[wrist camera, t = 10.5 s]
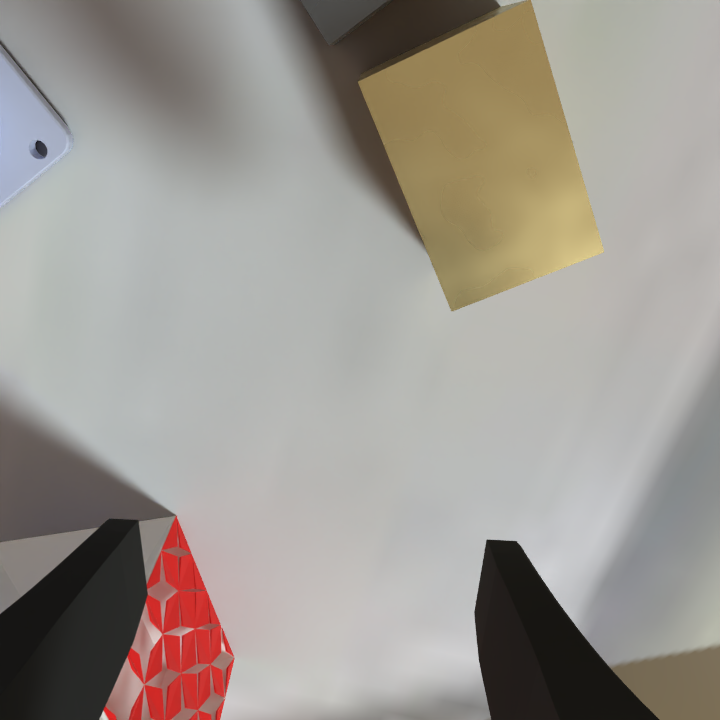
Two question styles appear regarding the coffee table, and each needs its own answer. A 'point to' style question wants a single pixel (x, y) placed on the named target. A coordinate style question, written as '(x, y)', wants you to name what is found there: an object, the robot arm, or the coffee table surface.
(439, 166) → the lever cap
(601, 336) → the coffee table surface
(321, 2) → the hand plane
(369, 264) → the coffee table surface
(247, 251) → the coffee table surface
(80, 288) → the coffee table surface
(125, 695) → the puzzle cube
